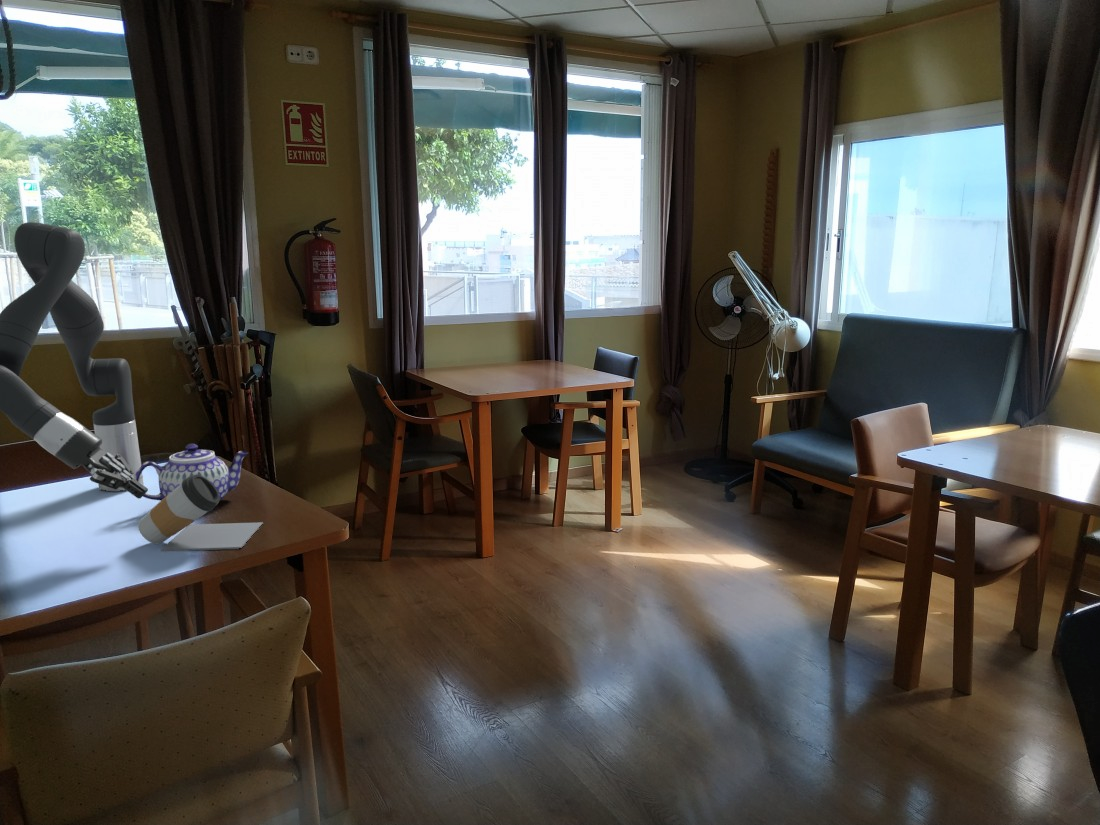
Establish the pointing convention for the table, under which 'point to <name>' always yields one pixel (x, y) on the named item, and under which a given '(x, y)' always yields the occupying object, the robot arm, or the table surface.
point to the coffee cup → (179, 509)
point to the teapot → (195, 471)
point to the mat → (212, 536)
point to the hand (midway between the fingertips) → (144, 494)
